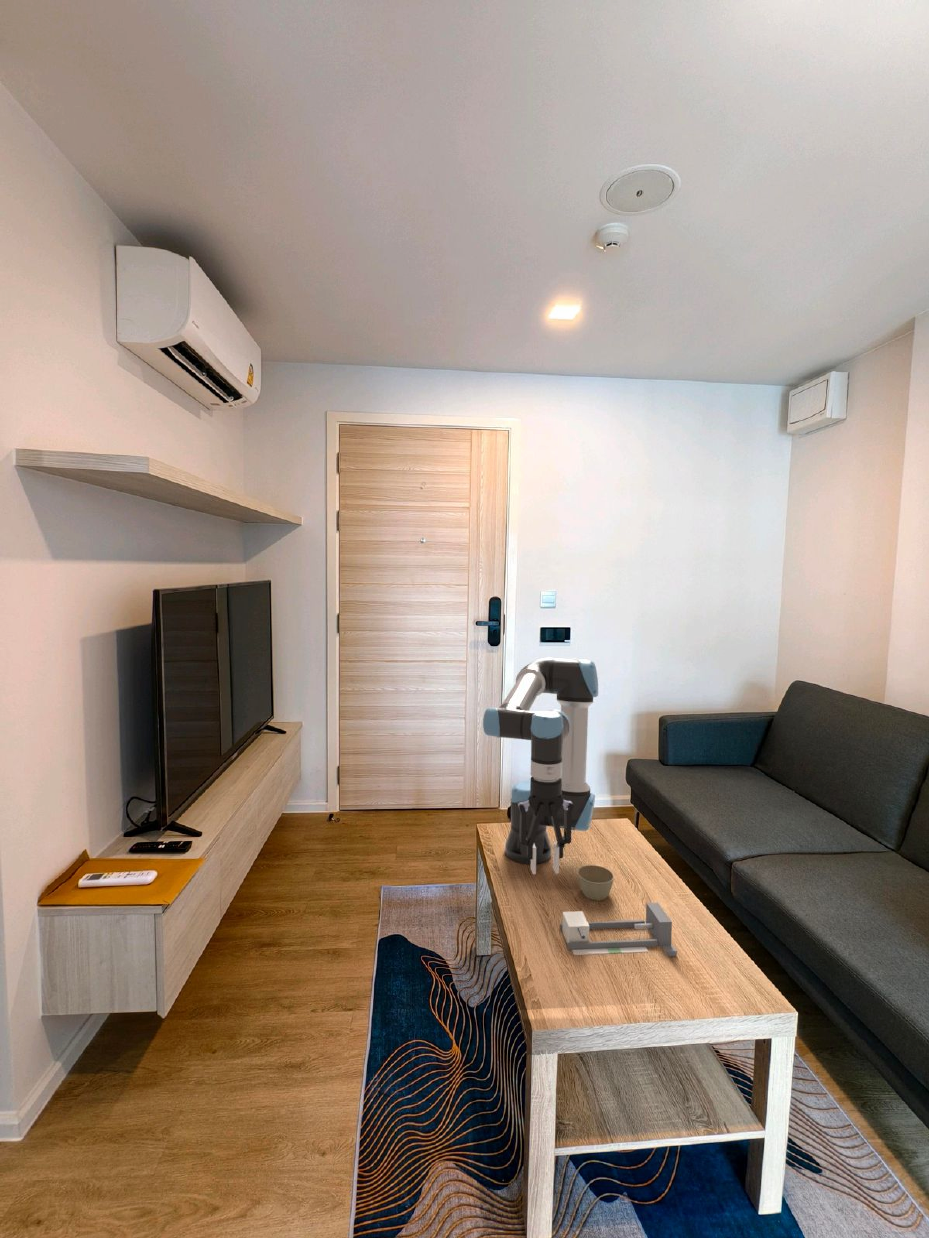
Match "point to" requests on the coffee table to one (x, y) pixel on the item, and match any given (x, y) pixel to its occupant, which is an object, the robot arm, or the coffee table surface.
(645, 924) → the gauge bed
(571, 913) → the cream block
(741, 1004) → the coffee table surface
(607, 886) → the flower pot
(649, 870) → the coffee table surface
